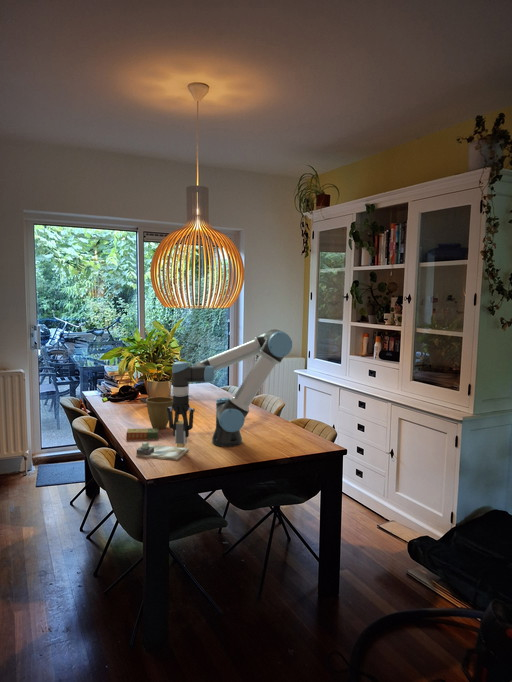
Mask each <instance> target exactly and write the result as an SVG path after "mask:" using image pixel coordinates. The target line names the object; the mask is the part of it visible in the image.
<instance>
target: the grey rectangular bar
mask: <svg viewBox="0 0 512 682" xmlns="http://www.w3.org/2000/svg"><path fill="white" fill-rule="evenodd" d="M184 430H185V427H184V422H183V420H178V421H177V422H176V443H177V444H176V447H180V448H185V447H186V444H184V435H183V431H184Z"/></svg>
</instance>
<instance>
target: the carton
mask: <svg viewBox="0 0 512 682" xmlns="http://www.w3.org/2000/svg"><path fill="white" fill-rule="evenodd" d="M151 439H152V440H159V429H158V428H153V427H152V428H148V427H147V428H146V427H145V428H127V431H126V439H125V440H126V441H143V440H144V441H146V440H151Z"/></svg>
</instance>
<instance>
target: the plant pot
mask: <svg viewBox="0 0 512 682" xmlns="http://www.w3.org/2000/svg"><path fill="white" fill-rule="evenodd" d="M145 402H146V407H147V413H148V417H149V421H150V424H151V427H152V428H158V430H165V429H166V428H167V426H168V425H169V417H168V411H167V408H168V407H172V405H173V397H167V396H153V397H148V398H146V399H145Z"/></svg>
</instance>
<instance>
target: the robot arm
mask: <svg viewBox="0 0 512 682" xmlns="http://www.w3.org/2000/svg"><path fill="white" fill-rule="evenodd" d="M292 349H293V340H292V339H291V337H290V335H289V334H287V332H284V331H283V330H279V329H270V330H268V331H266V332H264V333H262V334H261V333H260V335H259V334H258V335H257V336H255V337H254V338H253V340H250V341H248V342H245V343H243V344H241V345H238V346H235V347H232V348H231V349H227V350H225V351H222V352H220V353H218V354H215V355H213V356H210V357H208V358H206V359H203V360H197V361H196V362H194V364H193V365H192V366H191V365H190V364H189V362H188V361H175V362H173V364H172V367H171V368H172V370H171V373H172V375H171V376H172V377H171V378H172V399H173V405H172V407H168V408H167V411H168V417H169V421H168V427H169V429H172V435H173V437H174V443H175V444H176V445H177V443H176V422H177V421H179V419H180V418H179V417H180V415H181V417H182V421H183V422H184V427H185V430H184V431H183V435H184V444H185V445H186V444H188V437H189V436H190V431H191V430H192V429H194V427H193V425H194V412H195V410H196V409H195V408H192V407H191V405H190V396H189V393H190V391H189V390H190V389H189V387H190V386H189V385H190V384H189V383H209V382H212V383H213V381H214V380H215V372H218V371H220V370H222V369H226V368H229V366H233V365H235V364H238V363H239V362H242V361H245V360H247V359H250V358H252V357H256V356H257V355H259V356H258V358H257V360H256V361H255V363H254V364H253V366H252V367H251V369H250V370H249V372H248V373H247V375H246V376H245V378H244V380H243V382H242V383H241V385H240V386H239V388H238V390H236V392H235V394H234V396H232V397H218V398H217V399H216V402H215V405H216V406H215V409H216V410H215V411H216V412H215V413H216V414H215V429H214V431H213V434H212V435H213V436H212V438H211V439H212V441H211V442H212V444H213V445H215V446H217V447H223V448H225V447H227V448H229V447H237V446H240V445H242V443H243V438H242V434H241V431H240V430H241V429H242V428H243V426H244V425H245V421H246V420H245V419H246V418H247V416H248V414H249V412H250V405H251V404H252V402H253V401H254V399H255V397H256V396H257V394H258V393H259V391H260V389H261V388H262V386H263V385H264V384H265V382H266V380H267V378H268V377H269V375H270V373H271V372H272V371H273V369H274V367H275V366H276V365H278V364H280V363H282V361H283V359H284V357H286V356H288V355H289V354H290V352H291V351H292ZM173 411H174V412H173ZM188 412H189V414H188ZM188 415H189V416H188ZM175 444H174V445H175Z"/></svg>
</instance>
